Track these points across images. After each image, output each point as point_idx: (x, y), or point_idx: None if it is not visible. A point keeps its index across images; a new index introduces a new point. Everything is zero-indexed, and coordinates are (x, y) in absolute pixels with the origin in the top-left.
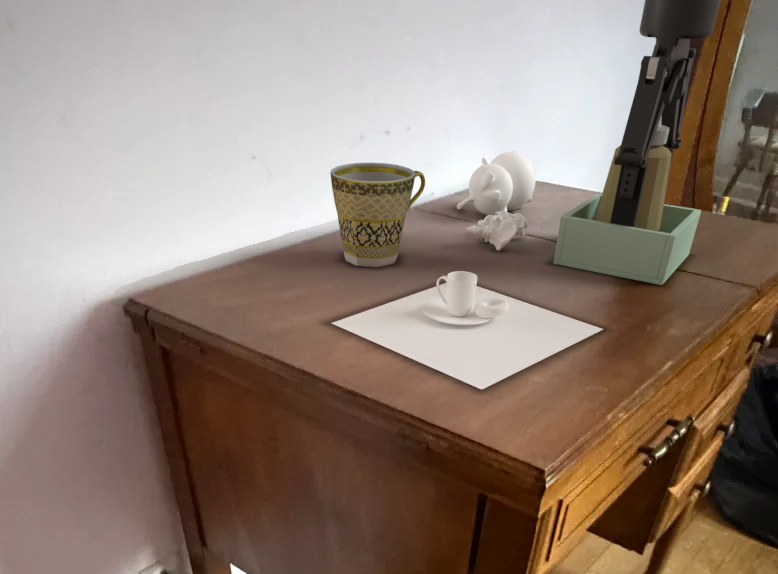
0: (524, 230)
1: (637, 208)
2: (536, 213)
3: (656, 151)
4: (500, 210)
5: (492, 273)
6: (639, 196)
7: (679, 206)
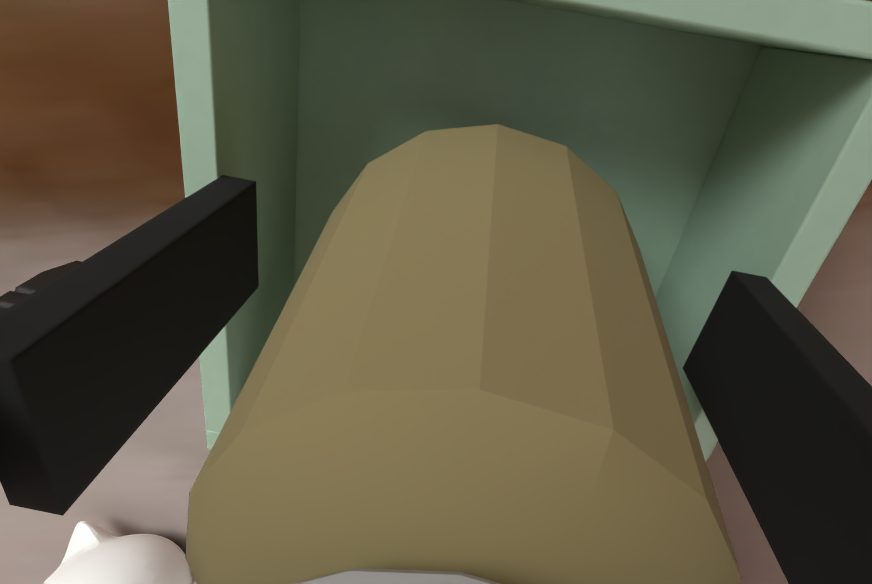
0: None
1: (799, 329)
2: (133, 487)
3: (665, 582)
4: None
5: (759, 528)
6: (858, 380)
7: (174, 52)
